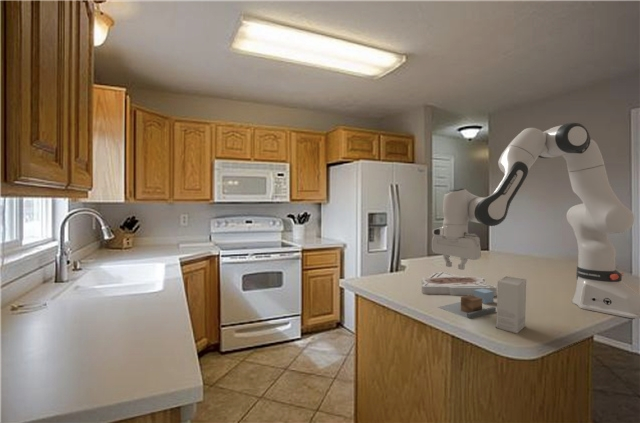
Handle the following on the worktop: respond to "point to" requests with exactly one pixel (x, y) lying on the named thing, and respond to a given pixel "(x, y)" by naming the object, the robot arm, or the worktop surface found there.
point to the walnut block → (471, 303)
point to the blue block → (485, 295)
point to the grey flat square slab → (457, 310)
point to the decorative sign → (454, 284)
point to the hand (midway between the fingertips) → (454, 267)
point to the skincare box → (511, 304)
